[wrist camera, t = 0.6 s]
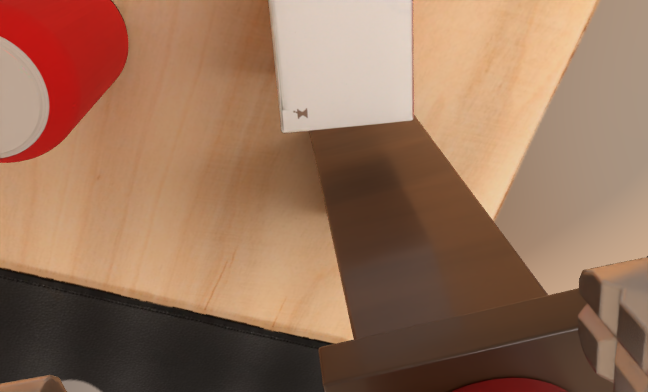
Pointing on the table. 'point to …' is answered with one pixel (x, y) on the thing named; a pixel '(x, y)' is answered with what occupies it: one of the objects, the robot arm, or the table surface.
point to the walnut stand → (432, 276)
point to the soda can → (511, 386)
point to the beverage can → (54, 69)
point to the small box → (342, 62)
